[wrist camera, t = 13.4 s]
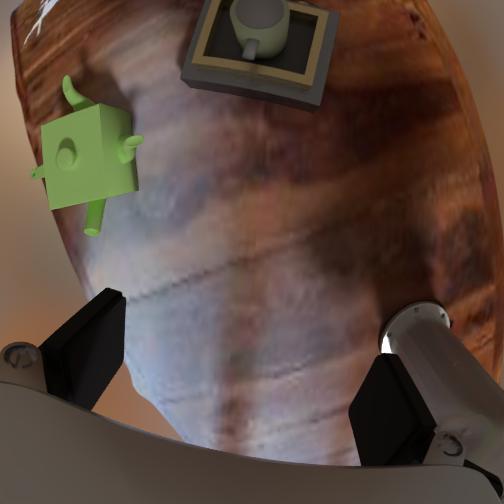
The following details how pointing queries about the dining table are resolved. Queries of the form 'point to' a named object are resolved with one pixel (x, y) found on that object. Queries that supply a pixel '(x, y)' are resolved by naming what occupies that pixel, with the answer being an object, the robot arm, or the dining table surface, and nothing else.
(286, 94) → the toy stove
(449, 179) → the dining table surface
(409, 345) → the robot arm
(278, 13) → the pale green cup
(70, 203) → the kettle
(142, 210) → the dining table surface
